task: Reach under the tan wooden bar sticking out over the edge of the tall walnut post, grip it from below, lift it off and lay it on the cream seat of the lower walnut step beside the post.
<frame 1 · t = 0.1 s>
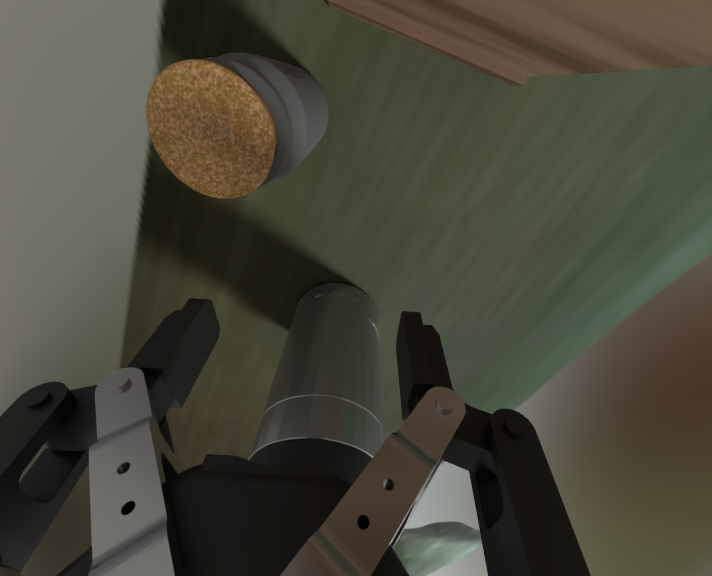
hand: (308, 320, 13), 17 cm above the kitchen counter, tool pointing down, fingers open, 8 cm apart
bottle: (292, 111, 24), on the kitchen counter
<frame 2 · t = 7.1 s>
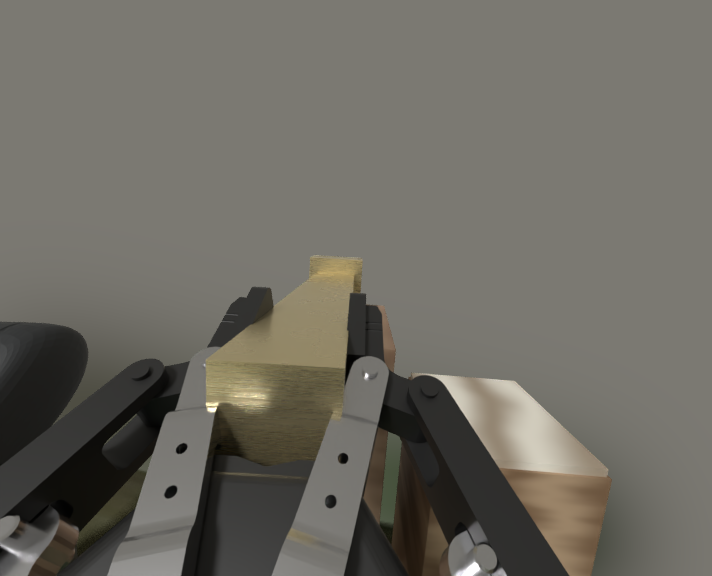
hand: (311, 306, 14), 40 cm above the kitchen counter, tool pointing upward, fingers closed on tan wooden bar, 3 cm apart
tan wooden bar: (323, 338, 21), point 36 cm above the kitchen counter, touching gripper, stepped wooden block
when the fingers open (34 cm above the kitchen counter, at t = 16.0 s): tan wooden bar drops 2 cm, resting on stepped wooden block.
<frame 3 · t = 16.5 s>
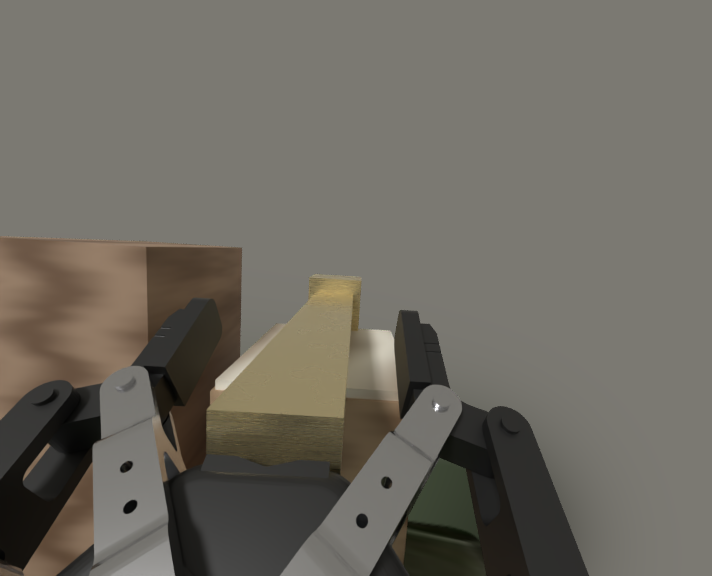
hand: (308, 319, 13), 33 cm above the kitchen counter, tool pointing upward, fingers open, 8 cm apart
tan wooden bar: (322, 363, 21), point 29 cm above the kitchen counter, touching stepped wooden block
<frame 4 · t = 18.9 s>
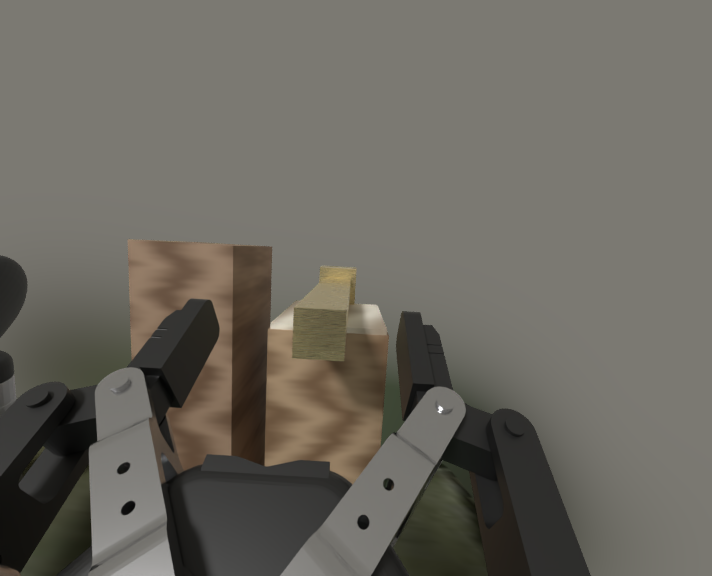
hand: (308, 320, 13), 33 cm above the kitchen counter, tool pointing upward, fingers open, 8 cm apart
stepped wooden block: (270, 520, 41), on the kitchen counter
tan wooden bar: (331, 318, 34), point 29 cm above the kitchen counter, touching stepped wooden block
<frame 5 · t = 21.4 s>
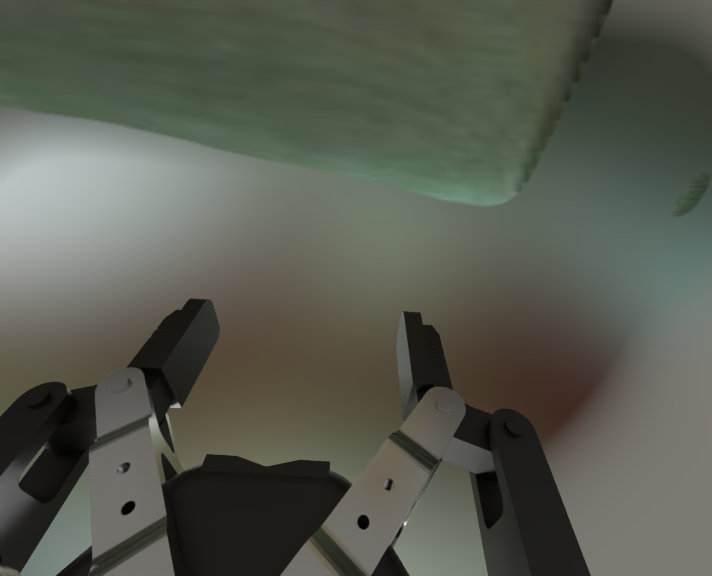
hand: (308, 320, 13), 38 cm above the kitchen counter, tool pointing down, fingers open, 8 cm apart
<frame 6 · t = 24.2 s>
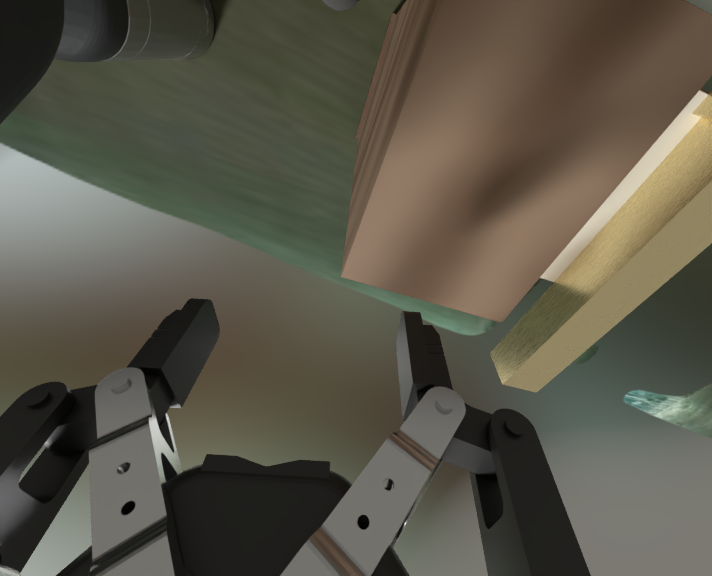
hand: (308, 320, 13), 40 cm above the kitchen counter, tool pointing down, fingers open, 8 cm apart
stepped wooden block: (459, 115, 43), on the kitchen counter
tan wooden bar: (606, 252, 24), point 29 cm above the kitchen counter, touching stepped wooden block
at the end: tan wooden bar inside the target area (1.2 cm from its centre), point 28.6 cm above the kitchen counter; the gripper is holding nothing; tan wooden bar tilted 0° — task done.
